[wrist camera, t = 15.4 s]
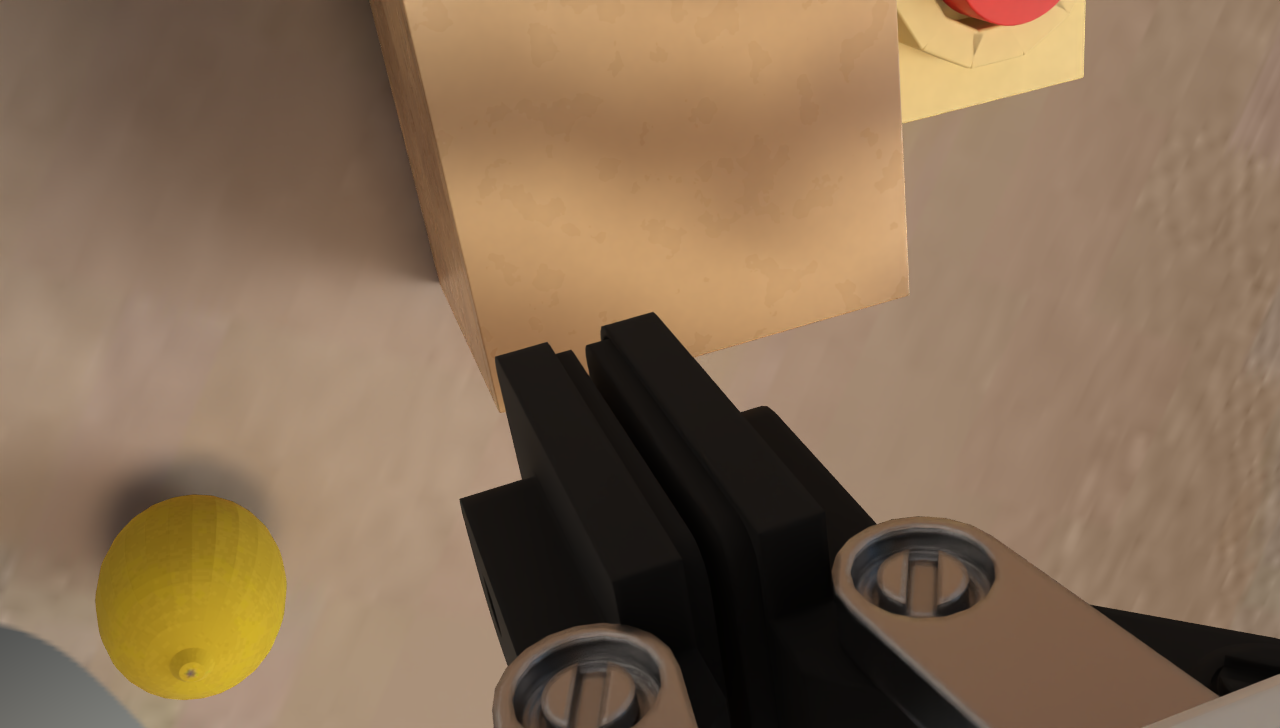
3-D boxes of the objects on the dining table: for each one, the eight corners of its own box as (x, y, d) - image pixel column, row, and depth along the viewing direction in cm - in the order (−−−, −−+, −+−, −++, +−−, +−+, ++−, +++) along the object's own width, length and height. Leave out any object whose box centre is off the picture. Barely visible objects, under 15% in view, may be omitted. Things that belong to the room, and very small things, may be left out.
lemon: (142, 431, 39) (127, 569, 32) (305, 480, 41) (324, 618, 34) (80, 569, 40) (53, 731, 33) (242, 609, 43) (249, 767, 36)
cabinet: (330, -156, 33) (369, -138, 25) (731, -229, 36) (887, -234, 28) (439, 284, 40) (499, 414, 32) (773, 197, 42) (910, 295, 34)
